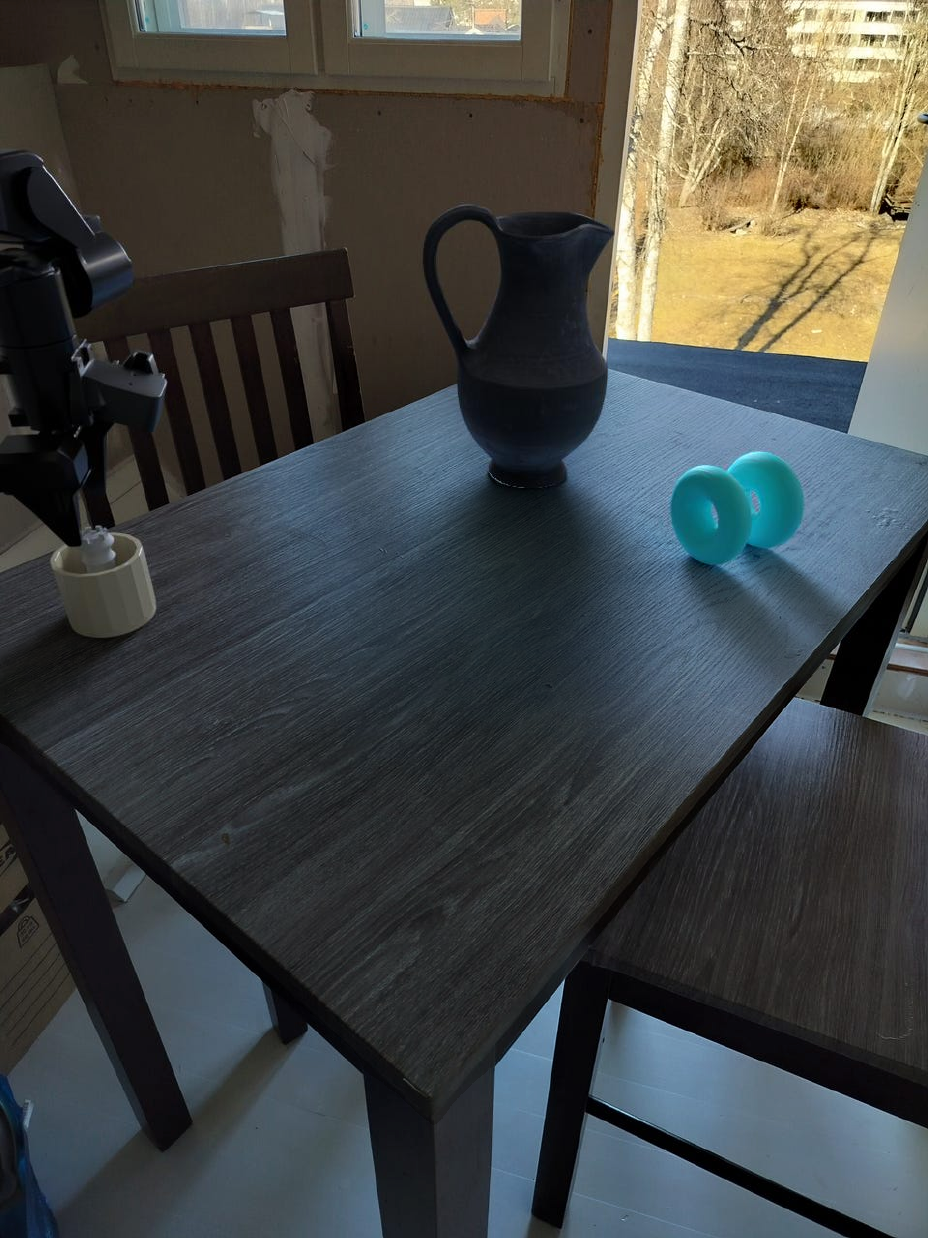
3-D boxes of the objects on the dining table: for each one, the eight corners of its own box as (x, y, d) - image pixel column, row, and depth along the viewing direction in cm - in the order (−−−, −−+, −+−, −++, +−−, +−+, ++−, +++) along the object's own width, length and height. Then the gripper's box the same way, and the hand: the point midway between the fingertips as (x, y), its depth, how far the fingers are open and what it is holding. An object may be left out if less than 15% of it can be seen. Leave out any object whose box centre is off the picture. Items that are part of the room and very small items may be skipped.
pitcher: (614, 500, 98) (648, 216, 81) (436, 512, 95) (431, 222, 78) (575, 440, 112) (597, 187, 95) (419, 449, 109) (411, 191, 92)
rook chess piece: (135, 591, 81) (115, 516, 76) (141, 615, 78) (121, 538, 73) (85, 601, 79) (62, 526, 75) (89, 627, 76) (66, 549, 71)
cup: (60, 641, 75) (40, 579, 72) (80, 594, 81) (62, 535, 78) (149, 634, 76) (133, 573, 72) (162, 588, 82) (148, 529, 79)
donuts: (658, 540, 90) (671, 453, 85) (728, 519, 94) (746, 434, 89) (723, 585, 83) (743, 493, 78) (797, 560, 87) (821, 471, 81)
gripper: (122, 373, 58) (168, 569, 67) (164, 299, 73) (197, 467, 82) (-52, 380, 56) (19, 579, 65) (28, 303, 71) (76, 473, 80)
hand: (88, 519), depth 73 cm, fingers open, 9 cm apart
